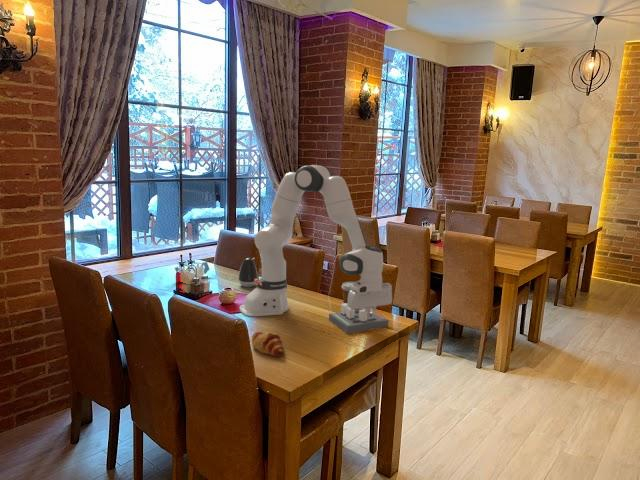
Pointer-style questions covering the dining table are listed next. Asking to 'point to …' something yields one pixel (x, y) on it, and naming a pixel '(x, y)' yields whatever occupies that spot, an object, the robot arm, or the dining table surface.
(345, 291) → the disposable coffee cup
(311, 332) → the dining table surface
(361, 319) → the breaker front
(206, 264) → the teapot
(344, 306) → the breaker back
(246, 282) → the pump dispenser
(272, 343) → the croissant
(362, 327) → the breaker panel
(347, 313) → the breaker middle
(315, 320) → the dining table surface
